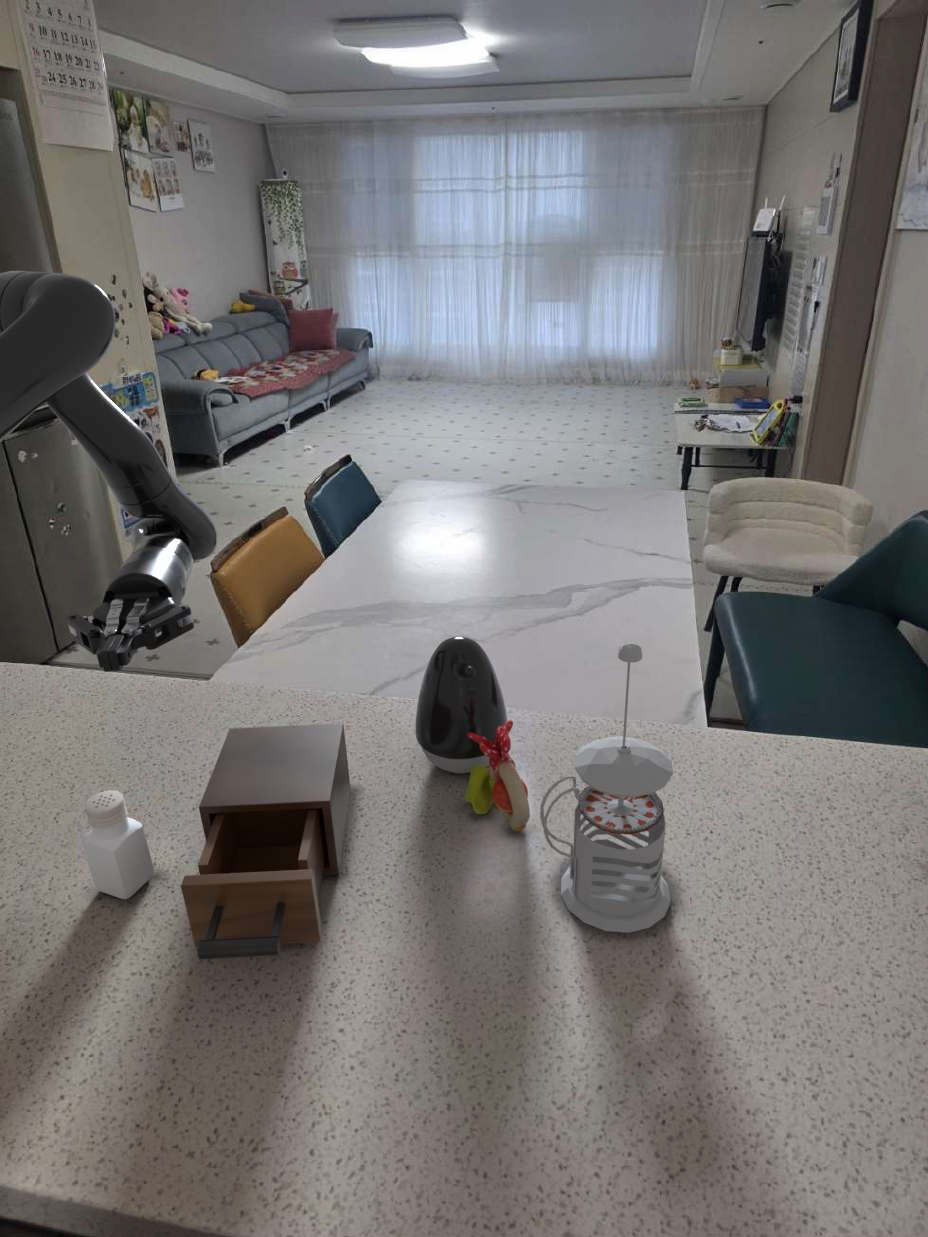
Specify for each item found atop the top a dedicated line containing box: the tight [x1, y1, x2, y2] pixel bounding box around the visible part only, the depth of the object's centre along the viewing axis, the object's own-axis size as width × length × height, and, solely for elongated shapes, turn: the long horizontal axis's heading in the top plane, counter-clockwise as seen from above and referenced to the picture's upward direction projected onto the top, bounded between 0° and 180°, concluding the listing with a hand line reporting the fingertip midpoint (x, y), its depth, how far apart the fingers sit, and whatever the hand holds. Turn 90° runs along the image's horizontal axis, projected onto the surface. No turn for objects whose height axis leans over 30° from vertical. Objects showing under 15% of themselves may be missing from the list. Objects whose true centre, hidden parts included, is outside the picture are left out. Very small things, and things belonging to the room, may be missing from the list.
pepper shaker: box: [81, 789, 155, 900], centre depth 75 cm, size 4×4×10 cm
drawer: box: [180, 808, 327, 961], centre depth 70 cm, size 16×10×7 cm, turn 2°
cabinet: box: [198, 722, 352, 876], centre depth 80 cm, size 13×12×9 cm
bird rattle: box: [464, 719, 531, 832], centre depth 81 cm, size 6×11×9 cm
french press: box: [539, 641, 674, 934], centre depth 68 cm, size 10×12×25 cm
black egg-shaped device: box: [415, 635, 509, 774], centre depth 89 cm, size 10×10×15 cm
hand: (110, 662), depth 78 cm, fingers closed
